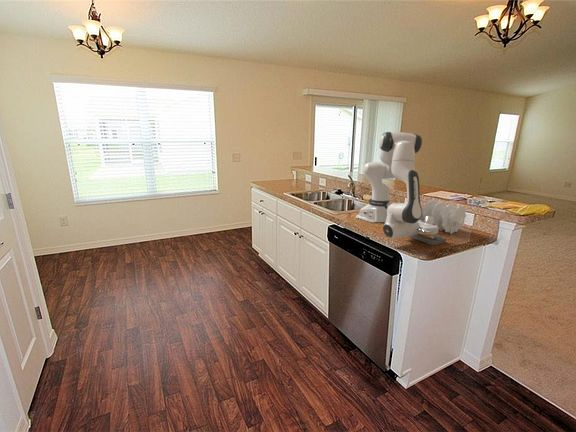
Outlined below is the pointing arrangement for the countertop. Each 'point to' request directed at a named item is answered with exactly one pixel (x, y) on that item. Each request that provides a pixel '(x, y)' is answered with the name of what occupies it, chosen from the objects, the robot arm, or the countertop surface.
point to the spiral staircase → (444, 215)
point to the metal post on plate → (430, 221)
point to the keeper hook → (437, 237)
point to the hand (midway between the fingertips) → (429, 224)
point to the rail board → (428, 239)
